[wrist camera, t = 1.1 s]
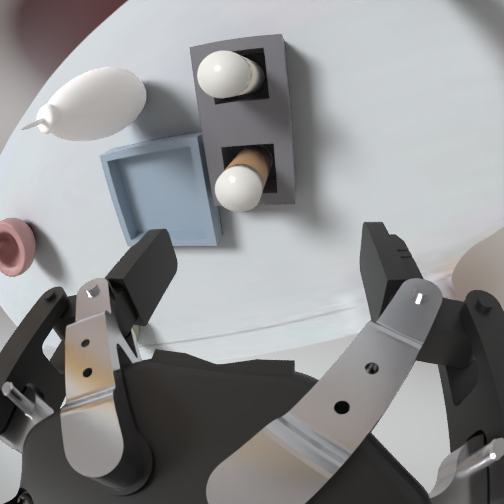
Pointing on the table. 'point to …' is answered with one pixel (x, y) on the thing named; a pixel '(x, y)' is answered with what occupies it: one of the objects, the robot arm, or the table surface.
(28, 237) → the mortar and pestle
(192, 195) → the parts tray
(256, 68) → the cylinder
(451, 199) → the table surface
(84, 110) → the sauce bottle
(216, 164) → the block
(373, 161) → the table surface
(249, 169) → the cylinder
